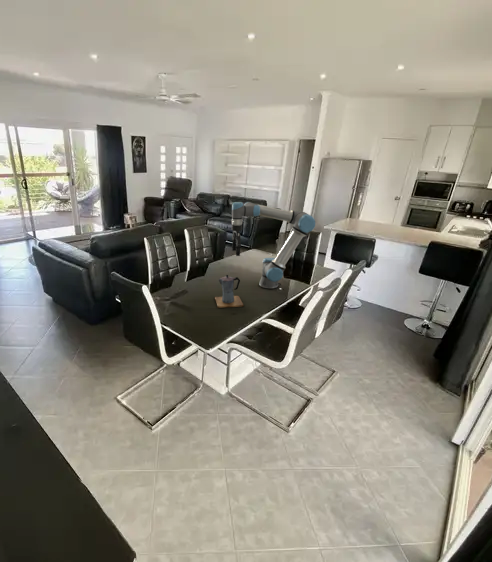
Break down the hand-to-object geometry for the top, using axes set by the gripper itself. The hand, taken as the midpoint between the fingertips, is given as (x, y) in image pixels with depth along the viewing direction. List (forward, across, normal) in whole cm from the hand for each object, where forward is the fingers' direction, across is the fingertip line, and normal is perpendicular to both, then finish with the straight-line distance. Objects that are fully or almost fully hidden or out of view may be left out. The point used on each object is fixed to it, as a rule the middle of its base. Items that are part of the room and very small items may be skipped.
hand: (235, 253), depth 237 cm
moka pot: (+31, +17, -8) cm, 36 cm away
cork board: (+32, +17, -8) cm, 37 cm away
